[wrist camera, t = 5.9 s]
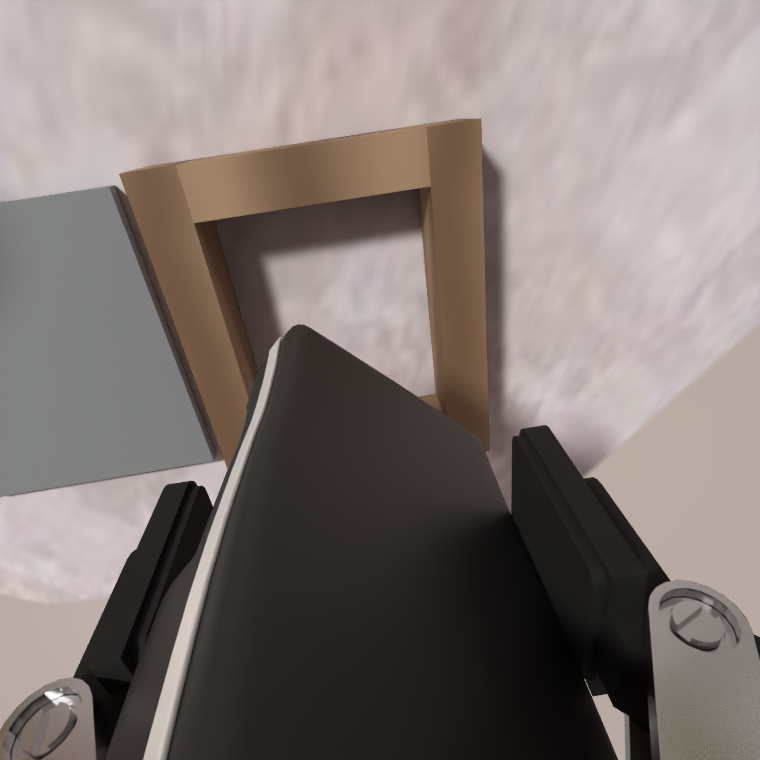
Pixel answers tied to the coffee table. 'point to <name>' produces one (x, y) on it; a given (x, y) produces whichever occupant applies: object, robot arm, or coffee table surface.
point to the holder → (308, 187)
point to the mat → (85, 351)
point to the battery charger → (356, 594)
